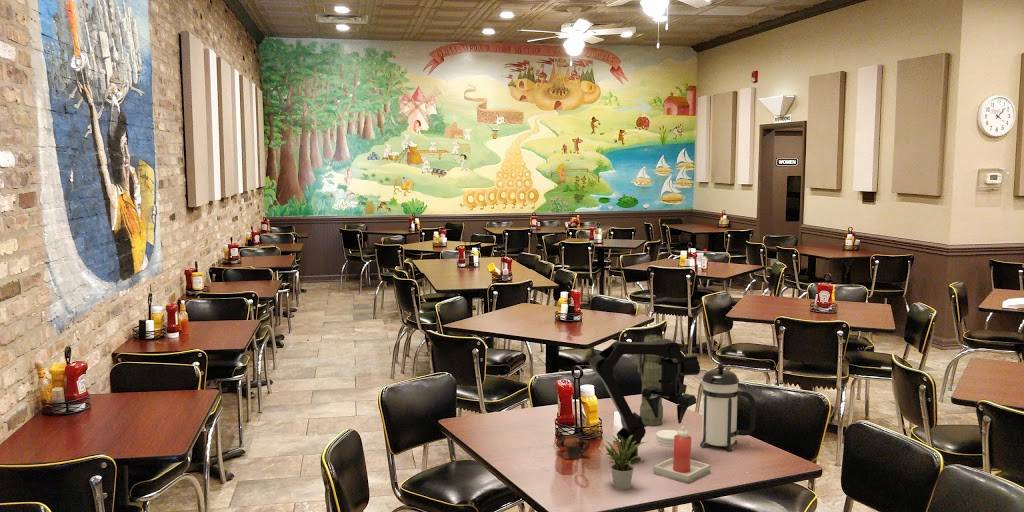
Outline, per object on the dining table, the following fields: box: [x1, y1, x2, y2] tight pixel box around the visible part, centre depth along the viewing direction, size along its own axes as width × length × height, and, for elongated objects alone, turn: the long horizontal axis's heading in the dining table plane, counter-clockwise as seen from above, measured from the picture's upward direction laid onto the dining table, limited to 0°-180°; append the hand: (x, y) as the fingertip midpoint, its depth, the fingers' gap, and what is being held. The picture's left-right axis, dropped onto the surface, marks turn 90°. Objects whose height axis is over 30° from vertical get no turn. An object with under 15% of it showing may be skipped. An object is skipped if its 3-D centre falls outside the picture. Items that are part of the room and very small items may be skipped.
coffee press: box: [698, 363, 757, 452], centre depth 302 cm, size 17×16×30 cm
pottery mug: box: [556, 434, 591, 460], centre depth 293 cm, size 12×10×8 cm
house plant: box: [603, 435, 647, 490], centre depth 264 cm, size 14×14×16 cm
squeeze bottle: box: [672, 425, 692, 473], centre depth 276 cm, size 6×6×15 cm
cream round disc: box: [655, 429, 678, 448], centre depth 307 cm, size 10×10×4 cm
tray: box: [652, 457, 711, 484], centre depth 276 cm, size 14×13×2 cm
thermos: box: [637, 334, 668, 428], centre depth 329 cm, size 9×12×35 cm
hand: (668, 420), depth 290 cm, fingers open, 9 cm apart
